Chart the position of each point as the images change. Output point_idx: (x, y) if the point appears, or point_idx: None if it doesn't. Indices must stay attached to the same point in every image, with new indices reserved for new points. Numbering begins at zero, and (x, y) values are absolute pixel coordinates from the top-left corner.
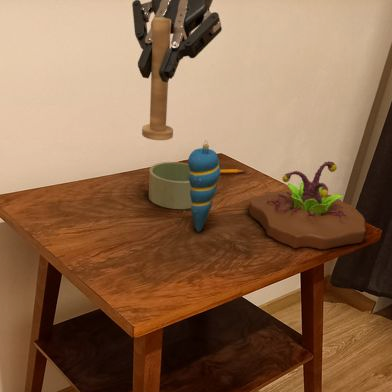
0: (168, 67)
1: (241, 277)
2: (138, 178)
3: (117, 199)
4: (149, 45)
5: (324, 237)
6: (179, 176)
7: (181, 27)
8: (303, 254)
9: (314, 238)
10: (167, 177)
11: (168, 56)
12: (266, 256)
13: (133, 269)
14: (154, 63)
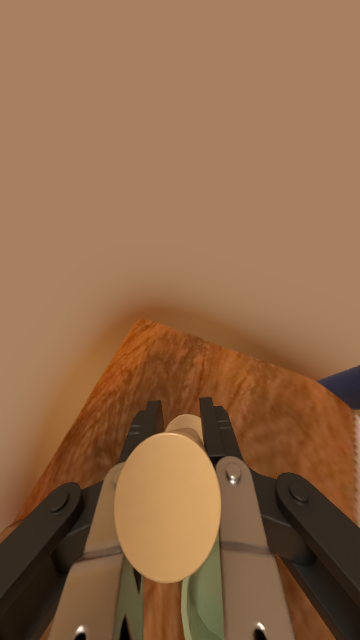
0: (141, 420)
1: (96, 401)
2: (323, 632)
3: None
4: (217, 451)
5: (4, 531)
6: None
7: (72, 568)
8: (41, 492)
9: (18, 524)
10: None
11: (141, 434)
12: (79, 457)
13: (170, 362)
14: (186, 429)
